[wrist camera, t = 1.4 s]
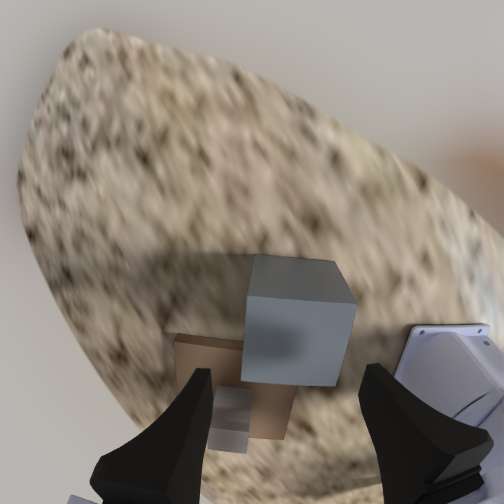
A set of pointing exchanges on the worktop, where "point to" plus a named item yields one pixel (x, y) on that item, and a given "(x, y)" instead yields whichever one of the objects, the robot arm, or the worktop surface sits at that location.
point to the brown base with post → (233, 394)
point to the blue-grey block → (296, 322)
